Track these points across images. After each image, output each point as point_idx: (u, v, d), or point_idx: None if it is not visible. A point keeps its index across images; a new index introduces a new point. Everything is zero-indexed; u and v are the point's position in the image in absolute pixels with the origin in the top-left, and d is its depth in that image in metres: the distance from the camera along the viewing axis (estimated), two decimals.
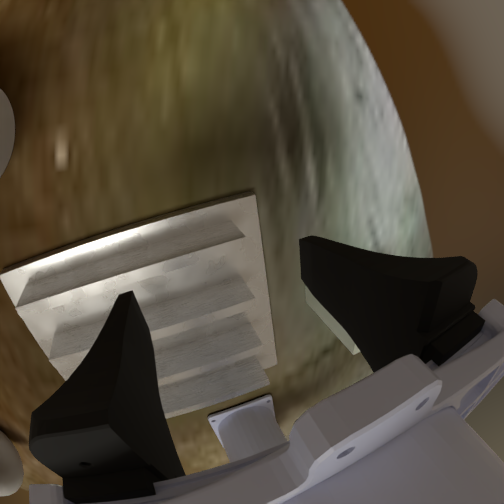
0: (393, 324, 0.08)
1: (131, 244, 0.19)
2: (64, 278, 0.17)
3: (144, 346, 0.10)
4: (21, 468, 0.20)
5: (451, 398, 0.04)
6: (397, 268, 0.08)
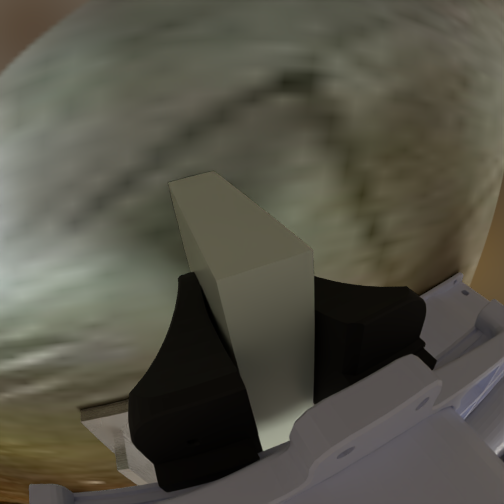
0: (322, 360, 0.08)
1: None
2: None
3: None
4: None
5: (451, 398, 0.04)
6: (326, 299, 0.08)
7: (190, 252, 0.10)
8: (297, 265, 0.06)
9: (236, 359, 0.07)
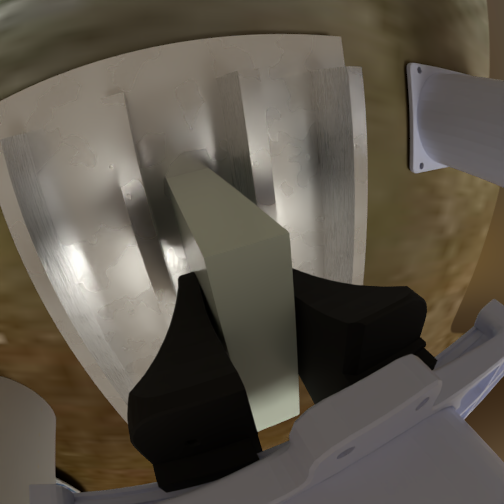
0: (323, 359, 0.08)
1: None
2: None
3: None
4: None
5: (451, 398, 0.04)
6: (327, 299, 0.08)
7: (185, 241, 0.11)
8: (275, 246, 0.07)
9: (223, 332, 0.08)
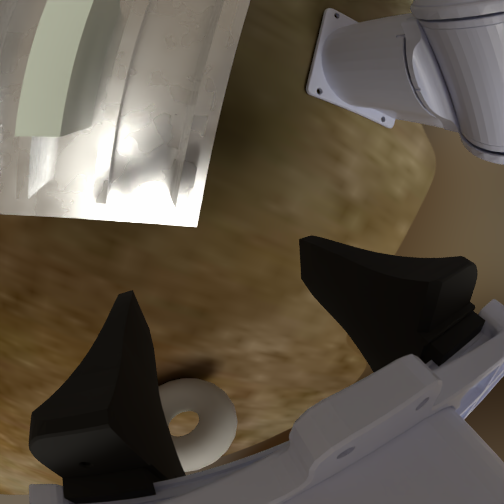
0: (393, 324, 0.08)
1: None
2: None
3: (144, 346, 0.10)
4: (222, 396, 0.25)
5: (451, 398, 0.04)
6: (397, 268, 0.08)
7: None
8: None
9: None
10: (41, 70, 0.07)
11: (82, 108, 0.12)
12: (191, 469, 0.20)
